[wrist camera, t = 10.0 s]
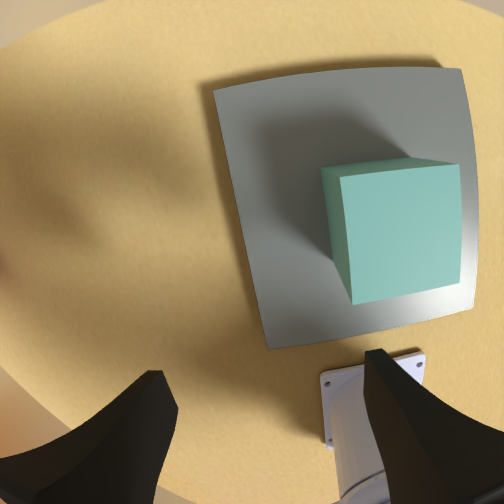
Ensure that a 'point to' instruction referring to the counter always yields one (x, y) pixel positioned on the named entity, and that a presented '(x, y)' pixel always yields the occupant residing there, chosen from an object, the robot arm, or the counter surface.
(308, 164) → the cutting board
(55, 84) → the counter surface
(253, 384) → the counter surface
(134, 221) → the counter surface
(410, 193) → the cube
